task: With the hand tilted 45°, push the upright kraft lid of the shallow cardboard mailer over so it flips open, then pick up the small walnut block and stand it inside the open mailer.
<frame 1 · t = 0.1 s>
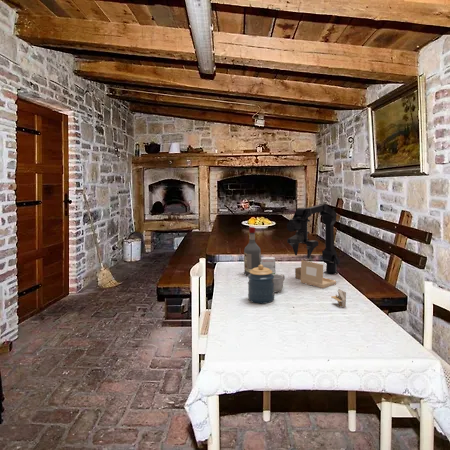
hand: (302, 256, 196), 15 cm above the table, tool pointing down, fingers open, 9 cm apart
walnut block: (300, 278, 205), on the table
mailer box: (318, 283, 193), on the table
canister: (261, 299, 168), on the table
ink box: (268, 276, 210), on the table
architectural model: (340, 306, 158), on the table
teacup: (275, 290, 183), on the table
mailer lid: (311, 271, 189), point 8 cm above the table, hinge at 87.0°
liquor: (252, 274, 215), on the table
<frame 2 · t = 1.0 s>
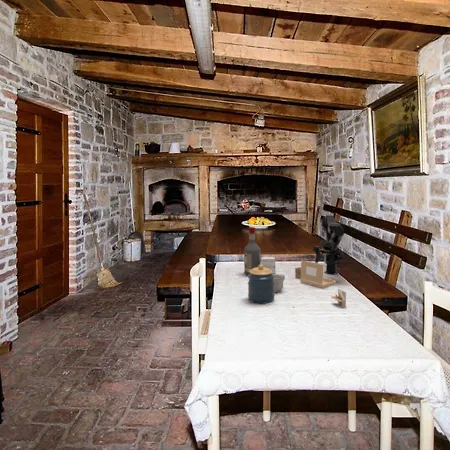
hand: (321, 264, 194), 10 cm above the table, tool tilted 45°, fingers open, 8 cm apart
nothing on the table moved.
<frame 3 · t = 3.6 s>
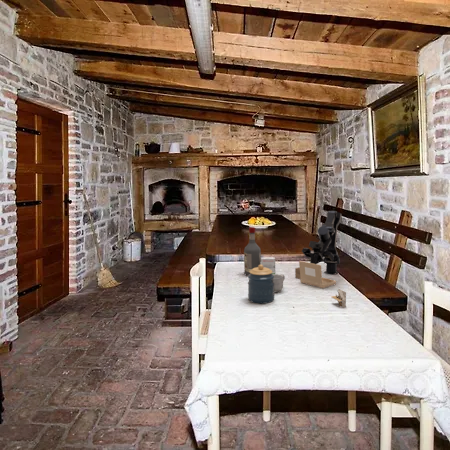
hand: (310, 266, 188), 11 cm above the table, tool tilted 45°, fingers closed, pressing on mailer lid
mailer lid: (310, 272, 188), point 8 cm above the table, hinge at 97.2°, touching gripper
everything else where it was.
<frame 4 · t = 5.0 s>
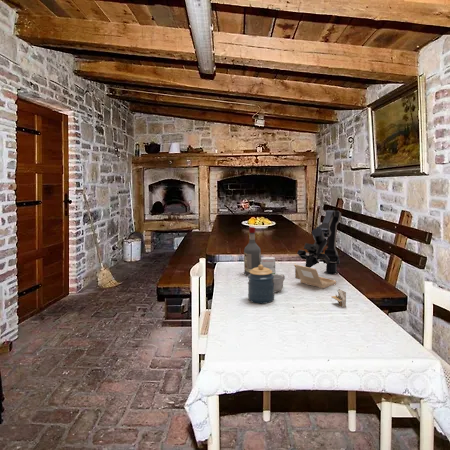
hand: (306, 269, 186), 10 cm above the table, tool tilted 45°, fingers closed, pressing on mailer lid
mailer lid: (307, 274, 187), point 7 cm above the table, hinge at 120.4°, touching gripper
everything else where it was.
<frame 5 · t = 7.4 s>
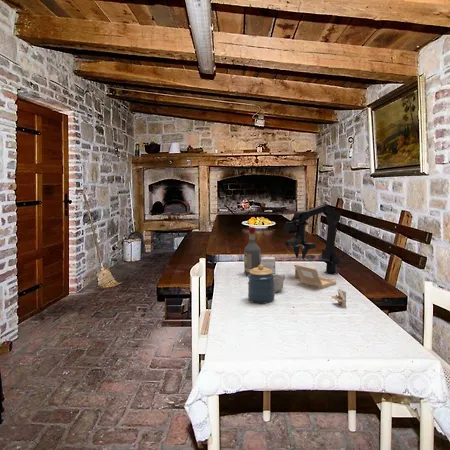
hand: (300, 258, 203), 12 cm above the table, tool pointing down, fingers open, 4 cm apart
mailer lid: (307, 274, 187), point 7 cm above the table, hinge at 120.4°
everything else where it was.
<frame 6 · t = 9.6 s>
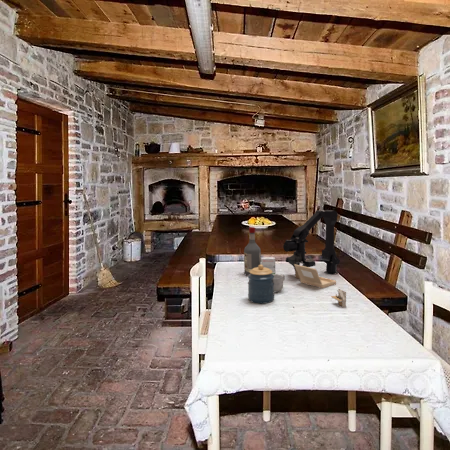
hand: (300, 275, 205), 2 cm above the table, tool pointing down, fingers closed on walnut block, 4 cm apart
walnut block: (300, 278, 205), on the table, touching gripper
everything else where it was.
when the fingers open (3 cm above the table, at t = 13.7 s): walnut block stays where it is, resting on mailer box.
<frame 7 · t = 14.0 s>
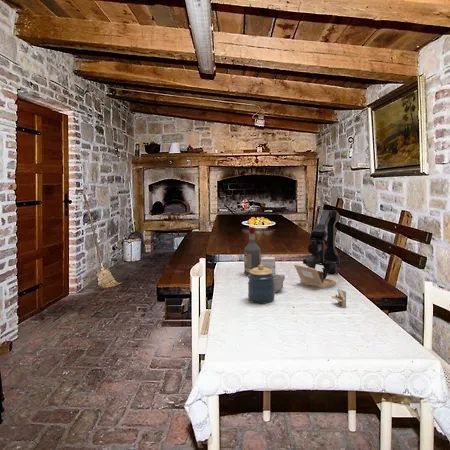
hand: (318, 277, 193), 3 cm above the table, tool pointing down, fingers open, 7 cm apart
walnut block: (318, 282, 193), resting on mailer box
everything else where it was.
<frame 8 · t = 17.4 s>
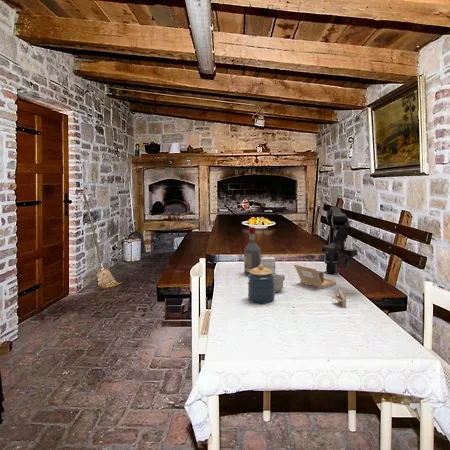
hand: (338, 266, 182), 12 cm above the table, tool pointing down, fingers open, 9 cm apart
nothing on the table moved.
at the end: mailer lid at +120° (first picture: +87°); walnut block inside the target area on the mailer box (0.5 cm from its centre), point 0.5 cm above the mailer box's base; walnut block tilted 0° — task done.
